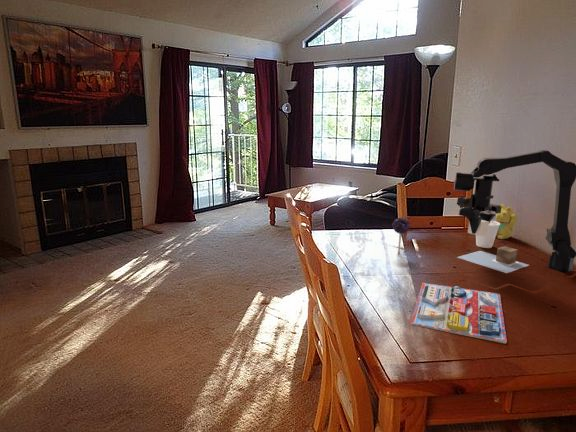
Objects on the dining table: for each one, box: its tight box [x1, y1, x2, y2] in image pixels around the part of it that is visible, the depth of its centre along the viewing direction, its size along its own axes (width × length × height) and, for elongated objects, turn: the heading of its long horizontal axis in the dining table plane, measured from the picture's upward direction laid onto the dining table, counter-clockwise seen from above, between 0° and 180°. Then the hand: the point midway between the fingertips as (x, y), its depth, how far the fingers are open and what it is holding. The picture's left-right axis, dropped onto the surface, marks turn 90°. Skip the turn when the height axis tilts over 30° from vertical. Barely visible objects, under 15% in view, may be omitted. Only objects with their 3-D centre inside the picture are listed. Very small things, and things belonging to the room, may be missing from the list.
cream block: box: [467, 220, 489, 236], centre depth 157 cm, size 5×5×5 cm
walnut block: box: [495, 245, 518, 265], centre depth 157 cm, size 5×5×5 cm
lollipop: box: [391, 217, 411, 255], centre depth 165 cm, size 7×7×15 cm
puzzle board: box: [410, 282, 508, 345], centre depth 118 cm, size 30×23×3 cm
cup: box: [475, 220, 500, 249], centre depth 176 cm, size 10×10×11 cm
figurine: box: [495, 203, 518, 240], centre depth 192 cm, size 11×9×15 cm
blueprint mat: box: [456, 250, 530, 274], centre depth 158 cm, size 20×16×1 cm
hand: (477, 232), depth 158 cm, fingers closed on cream block, 5 cm apart
